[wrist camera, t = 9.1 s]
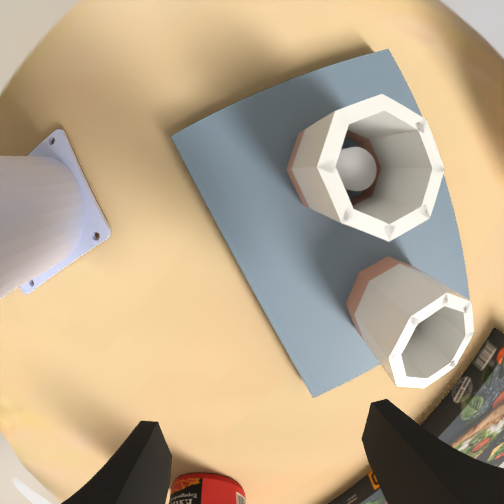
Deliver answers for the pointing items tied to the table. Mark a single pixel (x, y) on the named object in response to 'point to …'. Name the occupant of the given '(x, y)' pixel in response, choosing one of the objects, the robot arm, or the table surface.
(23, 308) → the table surface
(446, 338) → the seated sleeve
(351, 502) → the pizza box
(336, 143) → the sleeve
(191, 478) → the canned food
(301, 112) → the pin board
